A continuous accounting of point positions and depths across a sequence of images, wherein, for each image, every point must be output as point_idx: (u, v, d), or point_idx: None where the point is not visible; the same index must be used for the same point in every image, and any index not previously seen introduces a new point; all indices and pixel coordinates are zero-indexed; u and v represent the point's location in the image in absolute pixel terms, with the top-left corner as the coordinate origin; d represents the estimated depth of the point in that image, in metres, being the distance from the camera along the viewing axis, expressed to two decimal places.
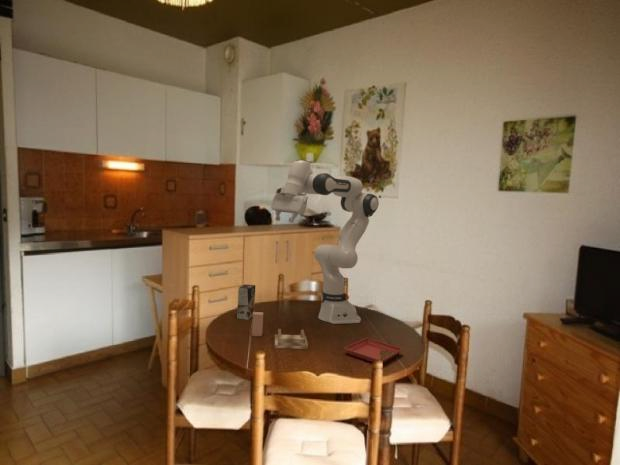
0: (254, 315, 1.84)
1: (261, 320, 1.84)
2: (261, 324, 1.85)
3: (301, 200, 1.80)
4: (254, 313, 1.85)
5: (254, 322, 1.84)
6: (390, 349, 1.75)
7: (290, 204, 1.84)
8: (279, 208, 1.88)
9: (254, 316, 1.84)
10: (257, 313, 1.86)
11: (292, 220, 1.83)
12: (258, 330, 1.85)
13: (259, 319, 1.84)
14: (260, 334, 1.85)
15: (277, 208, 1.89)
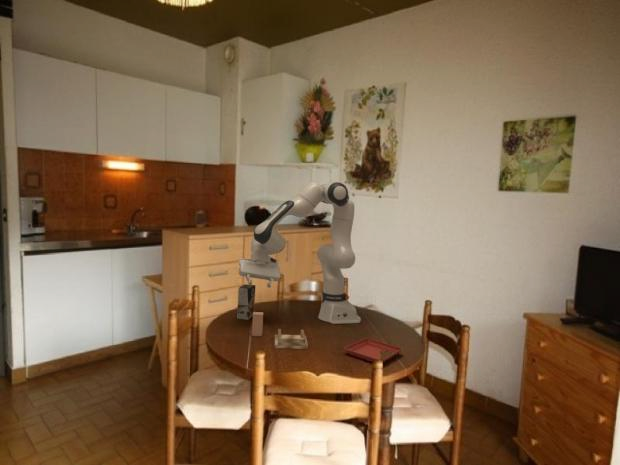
0: (254, 315, 1.84)
1: (261, 320, 1.84)
2: (261, 324, 1.85)
3: None
4: (254, 313, 1.85)
5: (254, 322, 1.84)
6: (390, 349, 1.75)
7: None
8: None
9: (254, 316, 1.84)
10: (257, 313, 1.86)
11: (248, 282, 1.92)
12: (258, 330, 1.85)
13: (259, 319, 1.84)
14: (260, 334, 1.85)
15: None
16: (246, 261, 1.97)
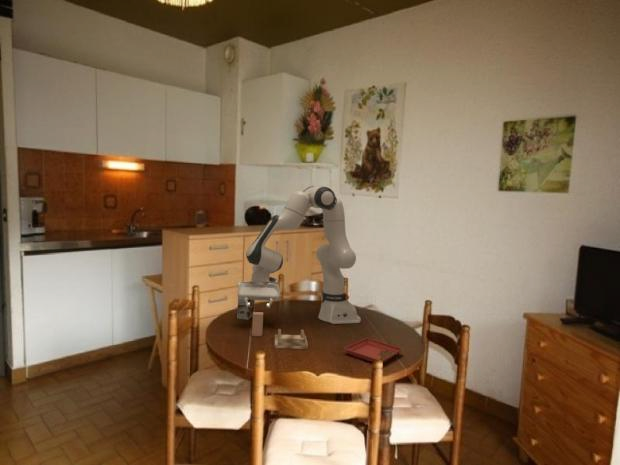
0: (254, 315, 1.84)
1: (261, 320, 1.84)
2: (261, 324, 1.85)
3: None
4: (254, 313, 1.85)
5: (254, 322, 1.84)
6: (390, 349, 1.75)
7: None
8: None
9: (254, 316, 1.84)
10: (257, 313, 1.86)
11: None
12: (258, 330, 1.85)
13: (259, 319, 1.84)
14: (260, 334, 1.85)
15: None
16: (244, 283, 1.97)
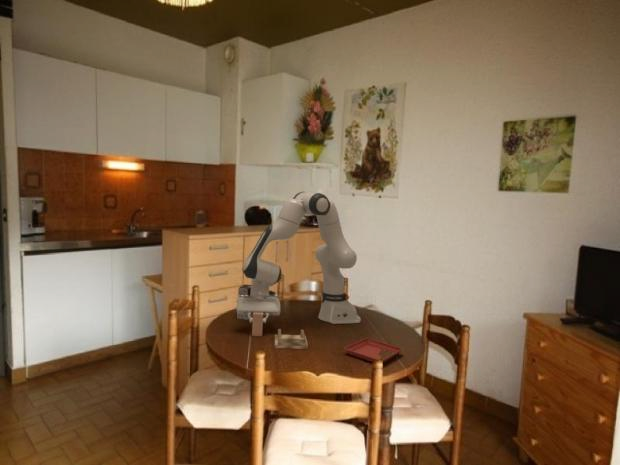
0: (254, 315, 1.84)
1: (261, 320, 1.84)
2: (261, 324, 1.85)
3: None
4: (254, 313, 1.85)
5: (254, 322, 1.84)
6: (390, 349, 1.75)
7: None
8: None
9: (254, 316, 1.84)
10: (257, 313, 1.86)
11: None
12: (258, 330, 1.85)
13: (259, 319, 1.84)
14: (260, 334, 1.85)
15: None
16: (243, 297, 1.91)
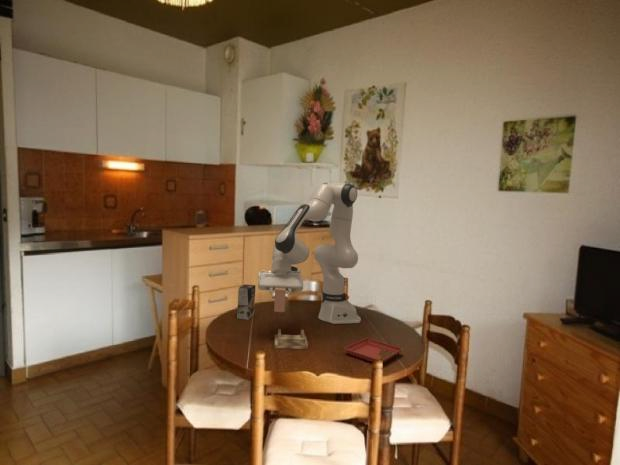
0: (276, 290, 1.78)
1: (284, 295, 1.79)
2: (284, 299, 1.79)
3: None
4: (276, 288, 1.80)
5: (276, 297, 1.78)
6: (390, 349, 1.75)
7: None
8: None
9: (276, 291, 1.78)
10: (279, 288, 1.80)
11: None
12: (280, 306, 1.79)
13: (281, 294, 1.78)
14: (282, 310, 1.79)
15: None
16: (265, 273, 1.85)
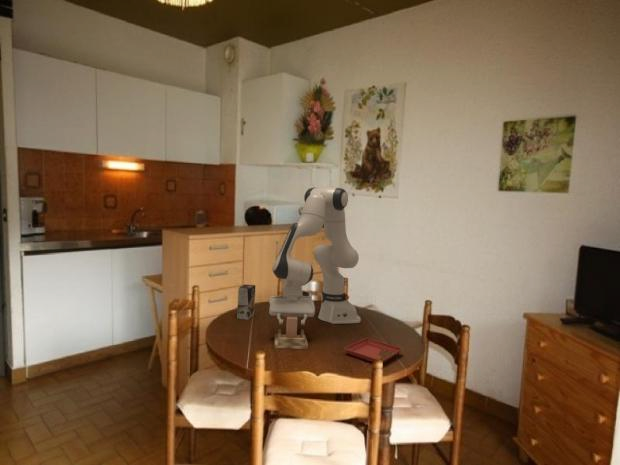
0: (288, 320, 1.76)
1: (295, 325, 1.77)
2: (295, 329, 1.77)
3: None
4: (288, 317, 1.78)
5: (288, 327, 1.77)
6: (390, 349, 1.75)
7: None
8: None
9: (288, 321, 1.76)
10: (291, 317, 1.78)
11: (279, 321, 1.78)
12: (292, 336, 1.77)
13: (293, 324, 1.77)
14: None
15: None
16: (276, 298, 1.83)
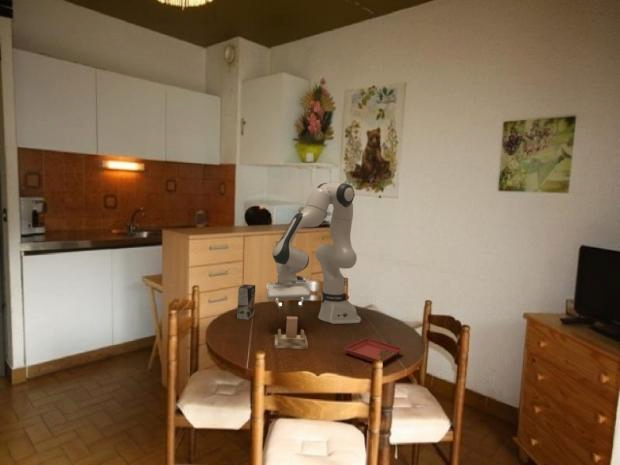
0: (288, 320, 1.76)
1: (295, 325, 1.77)
2: (295, 329, 1.77)
3: None
4: (288, 317, 1.78)
5: (288, 327, 1.77)
6: (390, 349, 1.75)
7: None
8: None
9: (288, 321, 1.76)
10: (291, 317, 1.78)
11: (278, 305, 1.87)
12: (292, 336, 1.77)
13: (293, 324, 1.77)
14: None
15: None
16: (273, 284, 1.92)
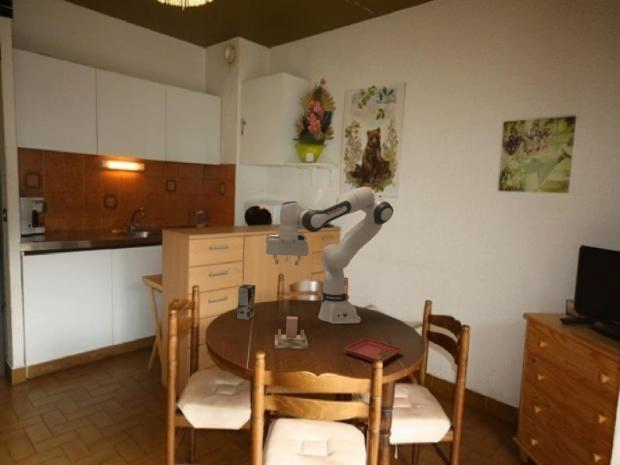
0: (288, 320, 1.76)
1: (295, 325, 1.77)
2: (295, 329, 1.77)
3: None
4: (288, 317, 1.78)
5: (288, 327, 1.77)
6: (390, 349, 1.75)
7: None
8: None
9: (288, 321, 1.76)
10: (291, 317, 1.78)
11: (275, 262, 1.94)
12: (292, 336, 1.77)
13: (293, 324, 1.77)
14: None
15: None
16: (272, 240, 1.91)
